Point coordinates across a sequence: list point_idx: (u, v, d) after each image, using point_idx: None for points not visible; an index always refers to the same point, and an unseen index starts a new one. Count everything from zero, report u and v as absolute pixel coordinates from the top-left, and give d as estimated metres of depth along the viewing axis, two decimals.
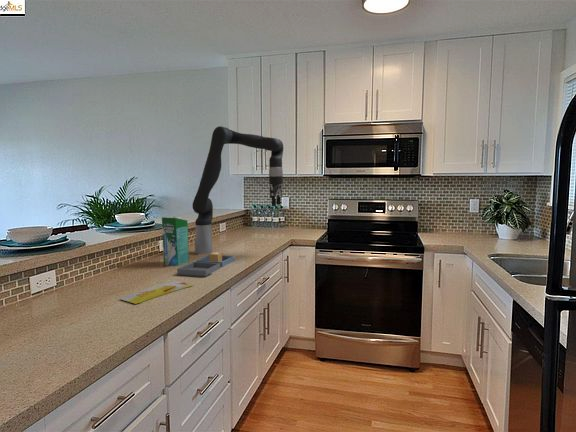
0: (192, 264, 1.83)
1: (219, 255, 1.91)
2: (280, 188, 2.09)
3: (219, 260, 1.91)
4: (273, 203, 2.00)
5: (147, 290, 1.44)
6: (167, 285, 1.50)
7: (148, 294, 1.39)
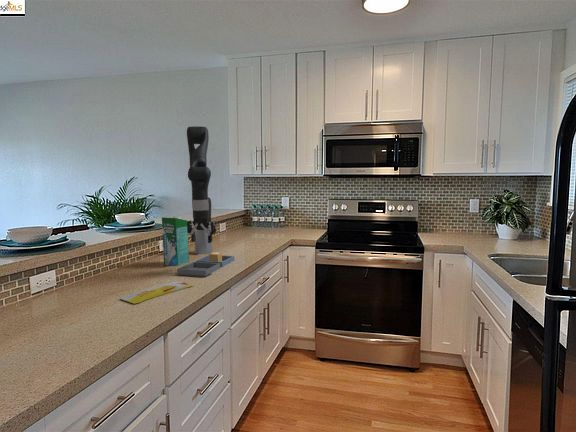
0: (192, 264, 1.83)
1: (219, 255, 1.91)
2: None
3: (219, 260, 1.91)
4: None
5: (147, 290, 1.44)
6: (167, 285, 1.50)
7: (147, 294, 1.39)
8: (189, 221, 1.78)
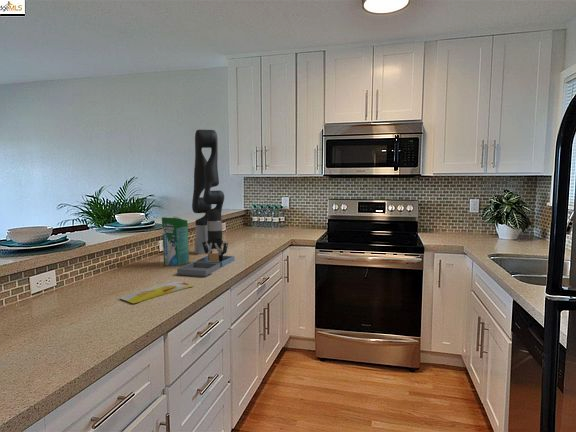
0: (192, 264, 1.83)
1: None
2: None
3: None
4: None
5: (147, 290, 1.44)
6: (168, 285, 1.50)
7: (147, 294, 1.39)
8: (204, 242, 1.92)
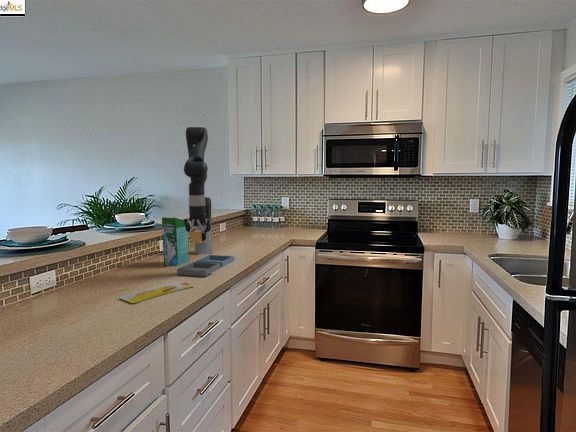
0: (192, 264, 1.83)
1: None
2: None
3: None
4: None
5: (147, 290, 1.44)
6: (168, 285, 1.50)
7: (146, 294, 1.39)
8: (185, 219, 1.74)
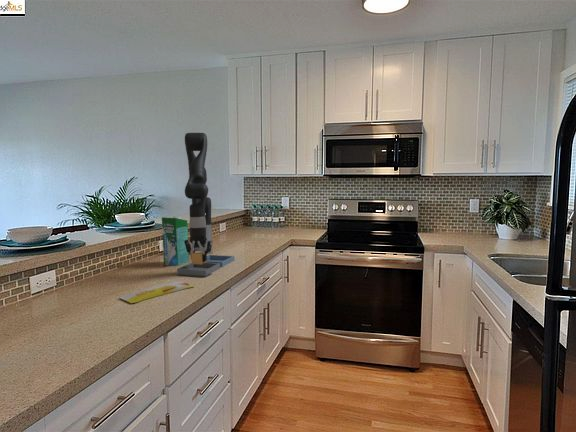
0: (192, 264, 1.83)
1: (202, 254, 1.74)
2: (189, 241, 1.77)
3: (202, 260, 1.74)
4: None
5: (147, 290, 1.44)
6: (168, 285, 1.50)
7: (146, 294, 1.39)
8: (186, 240, 1.75)
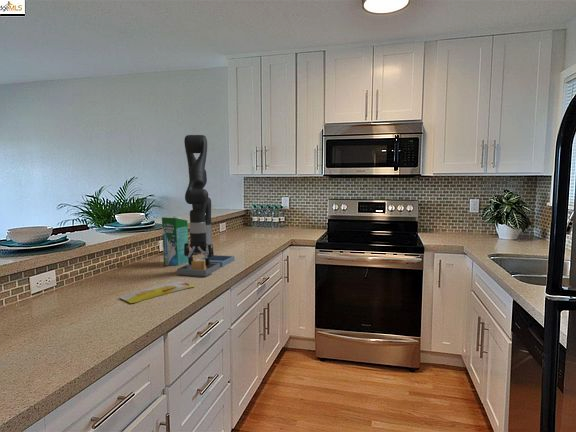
0: None
1: (203, 262, 1.75)
2: None
3: (203, 268, 1.75)
4: None
5: (147, 290, 1.44)
6: (168, 285, 1.50)
7: (146, 294, 1.39)
8: (186, 244, 1.76)
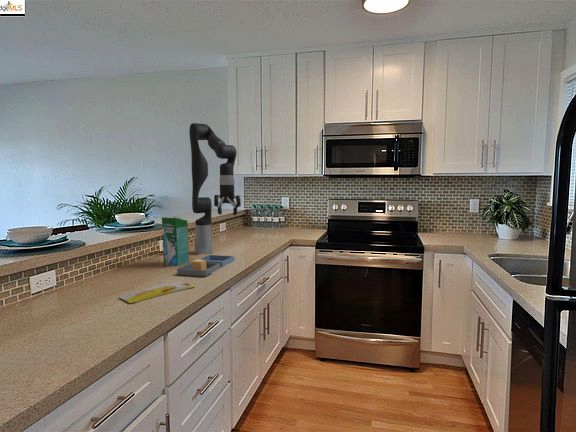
0: None
1: (203, 262, 1.75)
2: (218, 197, 1.96)
3: (203, 268, 1.75)
4: None
5: (147, 289, 1.44)
6: (168, 285, 1.50)
7: (146, 294, 1.39)
8: (216, 195, 1.94)
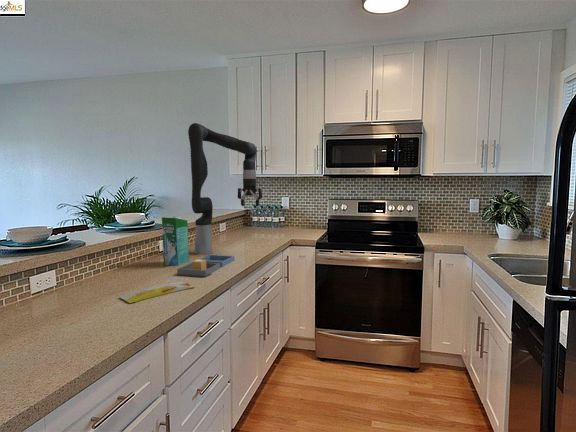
0: None
1: (203, 262, 1.75)
2: (241, 190, 2.14)
3: (203, 268, 1.75)
4: None
5: (147, 289, 1.44)
6: (169, 285, 1.50)
7: (145, 294, 1.39)
8: (239, 188, 2.13)
